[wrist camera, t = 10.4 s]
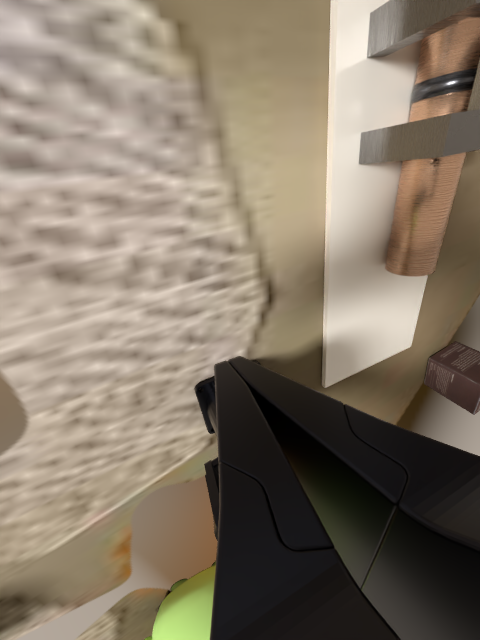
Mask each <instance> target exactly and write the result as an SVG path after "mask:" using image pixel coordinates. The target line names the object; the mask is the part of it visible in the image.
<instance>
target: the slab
mask: <svg viewBox="0 0 480 640" xmlns="http://www.w3.org/2000/svg"><path fill="white" fill-rule="evenodd" d="M388 1H389V0H331V11H330V54H329V97H328V140H327V183H326V227H325V270H324V313H323V356H322V386H324V387H325V388H326V387H328V386H330V385H333V384H335V383H337V382H339V381H341V380H343V379H345V378H347V377H349V376H351V375H353V374H355V373H357V372H359V371H361V370H363V369H366V368H368V367H370V366H372V365H374V364H376V363H378V362H380V361H382V360H384V359H386V358H388V357H390V356H392V355H394V354H397V353H399V352H401V351H403V350H405V349H407V348H409V347H411V344H412V340H413V335H414V331H415V327H416V323H417V319H418V314H419V310H420V306H421V302H422V298H423V293H424V289H425V285H426V281H427V277H428V275H426V276H402V275H396V274H393V273H390V272H388V271H387V270H386V269H385V264H386V258H387V252H388V246H389V240H390V234H391V228H392V222H393V215H394V209H395V203H396V197H397V191H398V185H399V179H400V173H401V166H402V161H392V162H381V163H369V164H359V152H360V139H361V133H362V132H367V131H371V130H376V129H381V128H385V127H390V126H395V125H399V124H404V123H409V118H410V111H411V101H412V95H413V89H414V86H415V81H416V75H417V69H418V62H419V56H420V50H421V44H422V39H421V40H419V41H417V42H415V43H413V44H410V45H408V46H406V47H404V48H402V49H400V50H398V51H396V52H394V53H391V54H389V55H387V56H385V57H373V58H367V48H368V35H369V22H370V13H371V12H373V11H374V10H376V9H377V8H379V7H380V6H382V5H383V4H385V3H386V2H388Z"/></svg>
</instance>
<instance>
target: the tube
mask: <svg viewBox="0 0 480 640" xmlns="http://www.w3.org/2000/svg"><path fill="white" fill-rule="evenodd" d="M479 60H480V18H476V17H468V18H465V19H463V20H461V21H459V22H457V23H455V24H453V25H451V26H449V27H446V28H444V29H442V30H440V31H438V32H436V33H434V34H432V35H429V36H427V37H425V38H423V39H422V44H421V50H420V56H419V62H418V69H417V75H416V81H415V86H414V89H413V95H412V101H411V111H410V118H409V122H414V121H418V120H423V119H428V118H432V117H437V116H442V115H446V114H451V113H458V112H465V111H467V110H468V106H469V102H470V97H471V93H472V89H473V85H474V81H475V77H476V72H477V68H478V64H479ZM466 153H467V152H465V153H460V154H455V155H450V156H445V157H438V158H427V159H415V160H404V161H402V166H401V173H400V179H399V185H398V191H397V197H396V203H395V209H394V215H393V222H392V228H391V234H390V240H389V246H388V252H387V258H386V264H385V269H386V270H387V271H388V272H390V273H393V274H396V275H402V276H426V275H429V274H432V273H434V272H435V269H436V265H437V262H438V258H439V254H440V250H441V247H442V243H443V239H444V235H445V232H446V228H447V224H448V220H449V217H450V213H451V209H452V205H453V202H454V198H455V194H456V190H457V187H458V183H459V179H460V175H461V172H462V168H463V164H464V160H465V157H466Z"/></svg>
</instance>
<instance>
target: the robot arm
mask: <svg viewBox="0 0 480 640" xmlns="http://www.w3.org/2000/svg"><path fill="white" fill-rule="evenodd" d="M214 372H215V377H213V378H211V379H209V380H206V381H204V382H201V383H199V384H197V385H196V386H195V388H194V389H195V393H196V396H197V399H198V402H199V405H200V408H201V411H202V414H203V417H204V421H205V424H206V427H207V430H208V432H209V433H210V434H213V433H216V436H217V438H218V457H217V458H215V459H214V460H212V461H211V460H210V461H209V462H207V463H205V464H204V465H205V470H206V475H205V477H206V482H207V487H208V492H209V497H210V502H211V507H212V512H213V518H214V533H215V537H216V539H217V541H218V543H217V557H216V568H215V580H214V593H213V605H212V617H211V630H210V640H480V456H478V455H475V454H472V453H469V452H466V451H463V450H461V449H458V448H455V447H453V446H450V445H447V444H444V443H442V442H439V441H436V440H433V439H431V438H428V437H425V436H423V435H420V434H417V433H414V432H412V431H409V430H406V429H404V428H401V427H399V426H396V425H393V424H391V423H388V422H386V421H383V420H381V419H378V418H376V417H374V416H371V415H369V414H367V413H364V412H362V411H360V410H358V409H355V408H353V407H351V406H349V405H347V404H345V405H344V404H343V403H342V402H340V401H338V400H336V399H333V398H331V397H329V396H327V395H325V394H322V393H320V392H318V391H316V390H314V389H311V388H309V387H307V386H305V385H303V384H301V383H298V382H296V381H294V380H292V379H290V378H287V377H285V376H283V375H281V374H279V373H276V372H274V371H272V370H270V369H268V368H266V367H263V366H261V365H260V363H259V362H258V361H250V360H248V359H246V358H244V357H241V356H238V357H235V358H232V359H229V360H228V361H223V362H220V363H218V364H215V366H214ZM200 388H202V389H201V390H199V389H200Z"/></svg>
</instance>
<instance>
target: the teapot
mask: <svg viewBox="0 0 480 640" xmlns="http://www.w3.org/2000/svg"><path fill="white" fill-rule="evenodd" d="M215 568H216V561H215V562H214V563H213V564H212V566H211V567H209V568H207V569H205V570H203V571H201V572H199V573H198V574H196V575H194V576H193V577H191V578H190V579H182V580H179V581H177V582H176V583H175V584H173V585H172V587H171V591H172V592H171V593H170V594H169V595H167V597H166V598H165V599H164V600H163V602H162V603H161V605H160V608H159V611H158V613H157V616H156V619H155V623H154V627H153V633H152V636H149V637H147V638H145V639H144V640H210V630H211V617H212V605H213V593H214V580H215Z"/></svg>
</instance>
